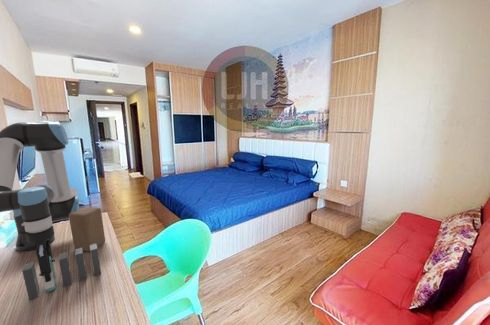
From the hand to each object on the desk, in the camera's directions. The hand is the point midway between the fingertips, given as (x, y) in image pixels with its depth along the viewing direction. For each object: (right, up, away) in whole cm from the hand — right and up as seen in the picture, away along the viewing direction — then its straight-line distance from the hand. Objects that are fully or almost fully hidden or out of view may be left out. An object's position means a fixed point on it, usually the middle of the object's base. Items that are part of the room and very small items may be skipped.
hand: (50, 283), depth 85 cm
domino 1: (-4, -3, -3) cm, 5 cm away
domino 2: (0, -2, 0) cm, 2 cm away
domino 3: (+4, -2, +3) cm, 5 cm away
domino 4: (+8, -1, +6) cm, 10 cm away
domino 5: (+12, 0, +9) cm, 15 cm away
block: (-5, +3, +29) cm, 30 cm away
